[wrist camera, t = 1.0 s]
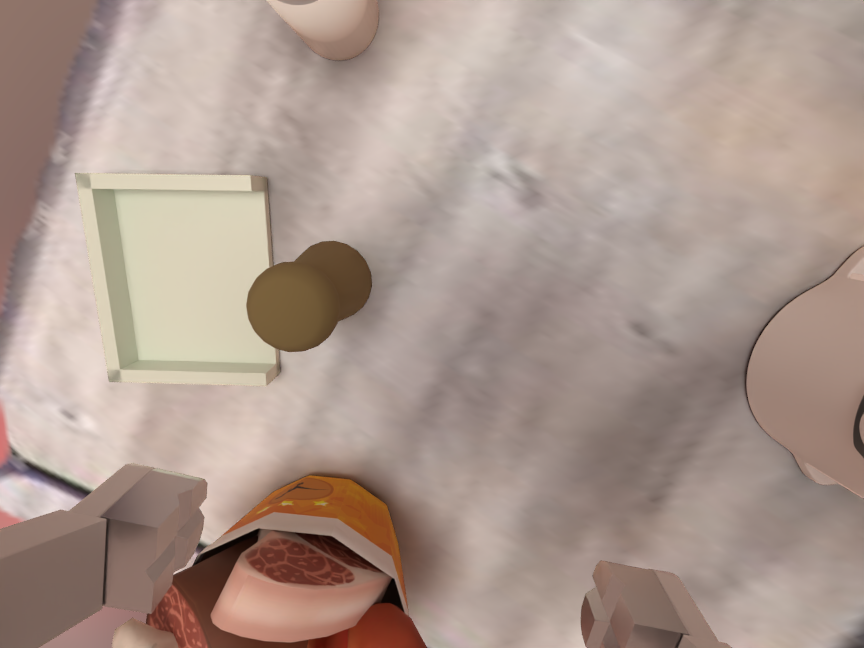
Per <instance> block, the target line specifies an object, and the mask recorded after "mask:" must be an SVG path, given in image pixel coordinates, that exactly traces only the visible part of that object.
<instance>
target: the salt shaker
mask: <svg viewBox="0 0 864 648" xmlns="http://www.w3.org/2000/svg"><path fill="white" fill-rule="evenodd" d="M266 1H267V2H268V3H269V4H270V5H271V6H272V7H273V9H274V10H275V11H276V12H277V13H278V14H279V15H280V16H281V17H282V18H283V19H284V20H285V21H286V23H287V24H288V25H289V26H290V27H291V28H292V29H293V30H294V31H295V32H296V33H297V34H298V35H299V37H300V38H301V39H302V40H303V41H304V42H305V43H306V44H307V45H308V46H309V47H310V48H311V49H312V50H313V51H314V52H315V53H317V54H318V55H320V56H322V57H324V58H327V59H330V60H337V61H341V60H348V59H351V58H354V57H356V56H357V55H359V54H360V53H362V52H363V51H364V50H365V49H366V48H367V47H368V46H369V45H370V43H371V42H372V40H373V38H374V36H375V34H376V31H377V27H378V22H379V8H378V3H377V0H266Z"/></svg>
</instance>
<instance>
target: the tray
mask: <svg viewBox="0 0 864 648" xmlns="http://www.w3.org/2000/svg"><path fill="white" fill-rule="evenodd" d="M75 177H76V183H77V189H78V195H79V202H80V208H81V214H82V220H83V226H84V232H85V238H86V244H87V250H88V257H89V263H90V269H91V275H92V281H93V287H94V293H95V299H96V305H97V311H98V318H99V324H100V330H101V336H102V342H103V348H104V354H105V360H106V366H107V373H108V379H109V382H135V383H171V384H206V385H242V386H267V385H268V384H269V383H270V382H271V381H272V380H273V379H274V378H275V377H276V376H277V375H278V374H279V373H280V359H279V349H275V348H274V347H272V346H270V345H269V344H267V343H265V342H264V341H263V340H262V339H261V338H260V337H259V336H258V335H257V334H256V333H255V332H254V330H253V328H252V326H251V324H250V322H249V320H248V315H247V308H246V303H247V297H248V292H249V290H250V288H251V286H252V285H253V283H254V281H255V279H256V278H257V277H258V276H259V275H260V274H261V273H262V272H264V271H265V270H266V269H267V268H270V267H272V266H273V257H272V242H271V228H270V213H269V198H268V184H267V177H260V176H252V175H185V174H108V173H75Z"/></svg>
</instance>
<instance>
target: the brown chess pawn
mask: <svg viewBox="0 0 864 648" xmlns="http://www.w3.org/2000/svg"><path fill="white" fill-rule="evenodd" d="M371 287H372V281H371V272H370V270H369V267H368V265H367V263H366V261H365V259H364V258H363V257H362V256H361V255H360V254H359V252H358V251H356V250H355V249H353V248H352V247H350V246H349V245H347V244H344V243H340V242H336V241H326V242H320V243H317V244H315V245H313V246H310V247H309V248H308V249H307V250H306V251H305V252H304V253H302V254H301V255H300V256H299V257H298V258H297V259H296V260H295V261H294V262H283V263H280V264H277V265H275V266H272V267H270V268H267V269H266V270H265V271H264V272H262V273H261V274H260V275H259V276H258V277H257V278H256V279H255V281H254V283H253V285H252V286H251V288H250V290H249V292H248V297H247V303H246V308H247V315H248V320H249V322H250V324H251V326H252V328H253V330H254V332H255V333H256V334H257V335H258V336H259V337H260V338H261V339H262V340H263V341H264V342H265V343H267V344H269V345H270V346H272V347H274V348H275V349H279V350H283V351H287V352H298V351H306V350H308V349H311V348H314V347H316V346H318V345H320V344H321V343H322V342H323V341H324V340H326V339H327V338H328V337H329V336H330V335H331V333H332V331H333V330H334V328H335V326H336V325H337V323H338V321H340V320H343V319H345V318H347V317H349V316H351V315H354V314H355V313H356V312H357V311H359V310H360V309H361V308H362V307H363V306H364V304H365V303H366V301H367V299H368V298H369V295H370V291H371Z"/></svg>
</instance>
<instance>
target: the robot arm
mask: <svg viewBox="0 0 864 648" xmlns="http://www.w3.org/2000/svg"><path fill="white" fill-rule="evenodd" d="M747 395H748V400H749V404H750V407H751V410H752V412H753V414H754V416H755V418H756V420H757V422H758V423H759V424H760V426H761V427H762V428H763V429H764V431H765V432H766V433H767V434H768V435H769V436H771V437H772V438H773V439H774V440H776V441H777V442H779V443H780V444H782V445H783V446H784V447H786V448H787V449H788V450H789V451H791V453H792V454H793V455H794V457H795V459H796V461H797V463H798V465H799V467H800V469H801V470H802V472H803V473H804V474H805V475H806V476H807V477H808V478H810V479H811V480H813V481H814V482H816V483H818V484H820V485H833V484H840V485H842V486H843V487H845V488H846V489H848V490H850V491H851V492H853V493H855V494H856V495H858V496H859V497H861V498H863V499H864V247H862V248H860V249H859V250H857V251H856V252H855V253H854V254H853V255H852V256H851V257H850V258H849V259H848V260H847V261H846V262H845V263H844V264H843V265H842V266H841V267H840V268H839V269H838V271H837V272H836V273H835V274H834V275H833V276H832V277H830V278H829V279H828V280H826V281H825V282H823V283H821V284H819V285H818V286H816V287H814V288H812V289H810V290H808V291H807V292H805V293H803V294H802V295H800V296H798V297H797V298H796V299H794V300H793V301H791V302H790V303H789V304H788V305H786V306H785V307H784V308H783V309H782V310H781V311H780V312H779V313H778V314H777V315H776V316H775V317H774V318H773V319H772V320H771V322H770V323H769V324H768V325H767V327H766V328H765V329H764V331H763V333H762V334H761V336H760V337H759V339H758V341H757V343H756V345H755V347H754V350H753V352H752V355H751V358H750V361H749V366H748V371H747ZM206 498H207V482H206V480H205V479H202V478H198V477H193V476H189V475H185V474H180V473H176V472H171V471H167V470H163V469H158V468H157V469H155V468H153V467H148V466H144V465H139V464H134V463H131V464H127V465H125V466H123V467H122V468H121V469H120V470H118V471H117V472H116V473H115V474H114V475H112V476H111V477H110V478H109V479H107V480H106V481H105V482H104V483H103V484H101V485H100V486H99V487H98V488H96V489H95V490H94V491H93V492H92V493H90V494H89V495H88V496H87V497H85V498H84V499H83V500H82V501H81V502H79V503H78V504H77V505H76V506H74V507H73V508H72V509H71V510H70V511H64V510H58V511H55V512H52V513H49V514H46V515H42V516H39V517H36V518H33V519H30V520H27V521H24V522H21V523H18V524H14V525H11V526H8V527H5V528H2V529H0V648H39V647H40V646H42V645H44V644H45V643H47V642H49V641H50V640H52V639H54V638H55V637H57V636H59V635H60V634H62V633H63V632H65V631H66V630H68V629H70V628H72V627H73V626H75V625H77V624H78V623H80V622H81V621H83V620H85V619H86V618H88V617H90V616H91V615H93V614H95V613H96V612H98V611H100V610H101V609H102V606H106V607H112V608H118V609H124V610H131V611H136V612H142V613H148V614H152V612H153V611H154V609H155V608H156V607H157V605H158V604H159V602H160V601H161V600H162V598H163V597H164V595H165V594H166V593H167V591H168V590H169V588H170V587H171V586H172V582H173V572H175V571H177V570H179V569H181V568H183V567H185V566H186V565H187V563H188V562H189V560H190V559H191V557H192V556H193V554H194V552H195V550H196V547H197V545H198V543H199V541H200V538H201V534H202V530H203V525H204V515H203V514H202V512H201V510H200V509H199V507H200V505H201V504H202V503H203V502H204V500H205V499H206ZM592 577H593V579H594V582H595V585H596V587H595V588H593V589H592V590H591V591H589V592H588V593H586V595H585V598H584V601H583V605H582V609H581V630H582V636H583V639H584V642H585V646H586V647H587V648H732V647H730V646H729V645H728V644H727V643H723V642H719V641H718V640H717V638H716V637H715V635H714V633H713V632H712V630H711V628H710V627H709V625H708V624H707V622H706V620H705V619H704V617H703V616H702V614H701V612H700V611H699V609H698V608H697V606H696V604H695V603H694V601H693V599H692V598H691V596H690V595H689V593H688V591H687V590H686V588H685V587H684V585H683V583H682V582H681V580H680V579H679V577H677V576H676V575H675V574H673V573H670V572H664V571H658V570H653V569H642V568H637V567H632V566H627V565H622V564H617V563H612V562H607V561H602V560H601V561H600V562H599V563H598V564H597V565H596V568H595V570H594V573H593V576H592Z"/></svg>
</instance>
